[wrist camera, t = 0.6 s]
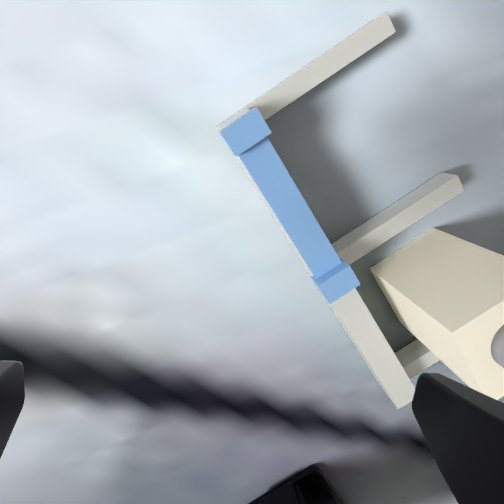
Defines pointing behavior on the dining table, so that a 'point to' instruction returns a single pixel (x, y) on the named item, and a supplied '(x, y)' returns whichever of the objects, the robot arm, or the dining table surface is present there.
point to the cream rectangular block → (451, 304)
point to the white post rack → (308, 229)
